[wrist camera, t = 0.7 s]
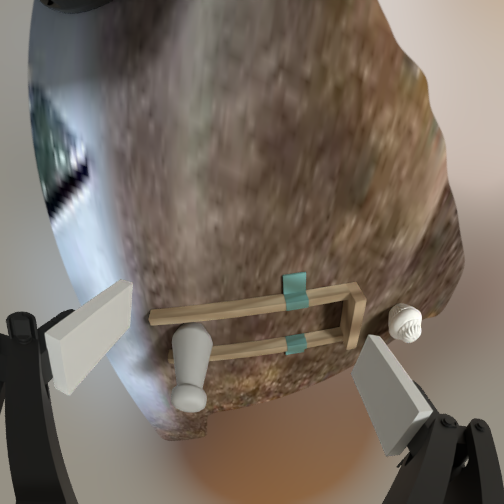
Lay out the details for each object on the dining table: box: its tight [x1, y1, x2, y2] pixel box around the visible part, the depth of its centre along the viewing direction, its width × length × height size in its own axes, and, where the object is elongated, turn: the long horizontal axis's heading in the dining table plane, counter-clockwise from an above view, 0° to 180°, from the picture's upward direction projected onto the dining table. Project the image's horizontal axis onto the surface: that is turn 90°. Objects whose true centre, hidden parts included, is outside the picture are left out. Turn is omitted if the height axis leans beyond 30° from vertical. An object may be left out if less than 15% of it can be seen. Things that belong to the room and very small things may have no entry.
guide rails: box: [148, 272, 367, 364], centre depth 38 cm, size 16×29×4 cm, turn 96°
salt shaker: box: [171, 322, 213, 412], centre depth 34 cm, size 6×6×13 cm
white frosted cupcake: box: [388, 303, 422, 343], centre depth 39 cm, size 6×6×7 cm
